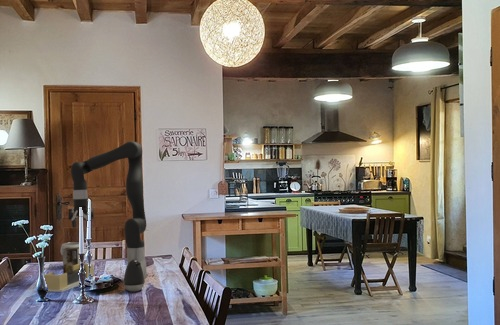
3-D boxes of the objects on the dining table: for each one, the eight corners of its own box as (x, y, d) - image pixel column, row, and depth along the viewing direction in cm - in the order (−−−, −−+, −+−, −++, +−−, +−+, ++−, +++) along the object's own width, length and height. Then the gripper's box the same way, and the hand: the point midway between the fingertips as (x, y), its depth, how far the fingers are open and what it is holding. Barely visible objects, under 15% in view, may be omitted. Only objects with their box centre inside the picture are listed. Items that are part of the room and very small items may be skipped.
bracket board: (96, 278, 268) (96, 263, 268) (61, 291, 239) (61, 275, 239) (77, 277, 271) (77, 263, 271) (41, 290, 242) (40, 274, 242)
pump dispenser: (131, 294, 231) (130, 262, 231) (119, 290, 238) (118, 260, 238) (149, 289, 239) (148, 259, 239) (137, 286, 246) (136, 256, 246)
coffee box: (83, 275, 278) (82, 246, 278) (78, 277, 272) (77, 248, 272) (68, 275, 279) (67, 247, 279) (62, 277, 272) (62, 248, 273)
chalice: (60, 266, 304) (59, 243, 304) (83, 264, 310) (82, 241, 310) (61, 270, 291) (60, 246, 292) (85, 268, 297) (85, 243, 297)
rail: (86, 277, 265) (86, 268, 265) (61, 287, 244) (60, 277, 244) (78, 277, 266) (78, 268, 266) (52, 287, 245) (52, 277, 245)
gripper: (95, 197, 269) (96, 226, 269) (73, 197, 273) (74, 226, 273) (88, 198, 262) (88, 228, 262) (65, 198, 266) (65, 228, 265)
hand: (81, 227), depth 267 cm, fingers open, 8 cm apart
